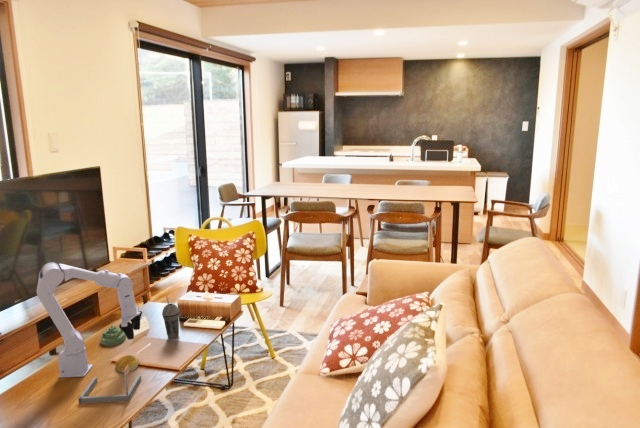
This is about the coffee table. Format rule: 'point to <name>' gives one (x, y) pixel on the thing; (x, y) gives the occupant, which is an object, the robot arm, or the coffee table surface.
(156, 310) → the coffee table surface
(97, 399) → the frame
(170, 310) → the beverage cup
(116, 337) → the decorative artifact
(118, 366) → the bread roll
